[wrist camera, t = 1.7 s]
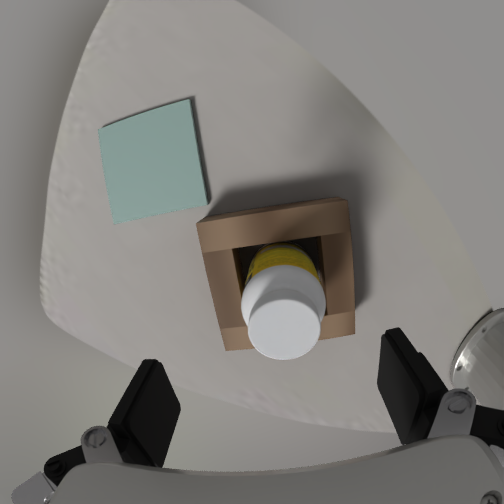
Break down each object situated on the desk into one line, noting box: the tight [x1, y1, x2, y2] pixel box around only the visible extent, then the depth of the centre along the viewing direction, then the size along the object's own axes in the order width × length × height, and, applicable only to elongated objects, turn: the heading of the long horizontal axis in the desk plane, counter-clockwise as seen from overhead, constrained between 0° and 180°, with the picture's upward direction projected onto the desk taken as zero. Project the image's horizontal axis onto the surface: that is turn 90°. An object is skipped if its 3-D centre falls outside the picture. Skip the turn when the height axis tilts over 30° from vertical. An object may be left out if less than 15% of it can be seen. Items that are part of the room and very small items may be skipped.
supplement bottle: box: [241, 241, 326, 360], centre depth 20 cm, size 5×5×10 cm
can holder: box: [196, 197, 355, 351], centre depth 23 cm, size 11×11×3 cm
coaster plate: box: [98, 99, 209, 224], centre depth 22 cm, size 9×9×1 cm
